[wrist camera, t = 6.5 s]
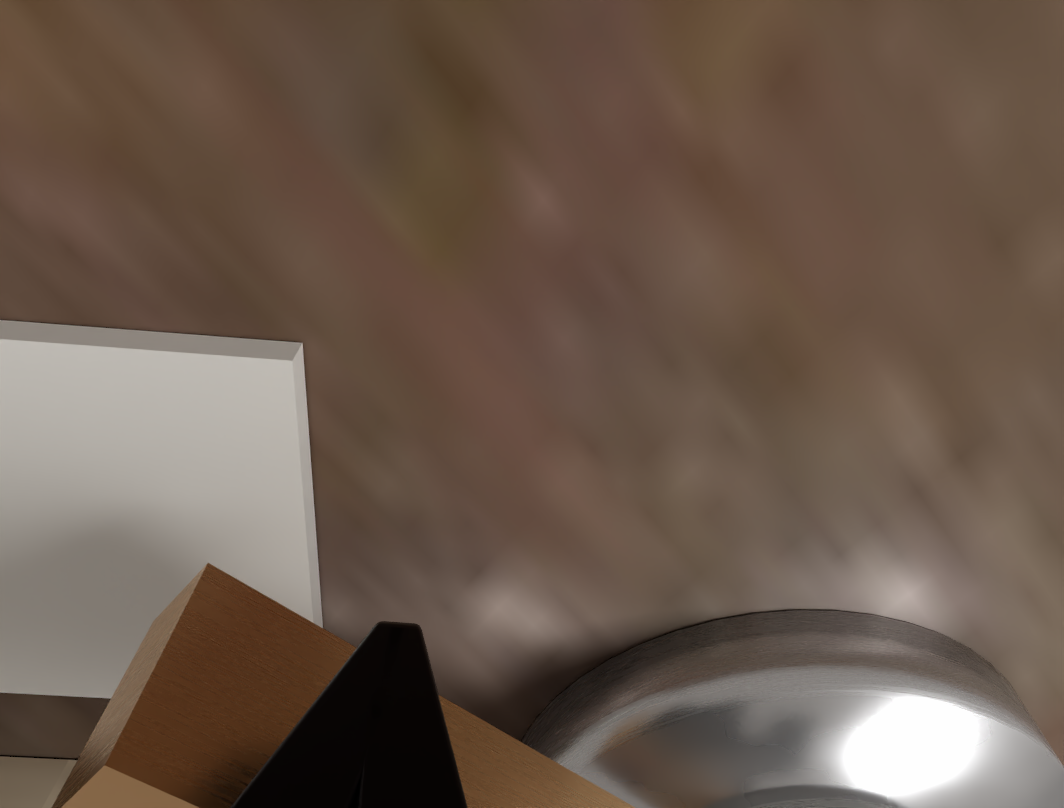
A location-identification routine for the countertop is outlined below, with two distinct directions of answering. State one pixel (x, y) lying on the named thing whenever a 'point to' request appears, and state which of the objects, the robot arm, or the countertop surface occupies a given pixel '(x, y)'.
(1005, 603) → the countertop surface
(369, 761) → the robot arm
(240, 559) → the white square plate
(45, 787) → the socket
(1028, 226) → the countertop surface
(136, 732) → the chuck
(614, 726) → the base
